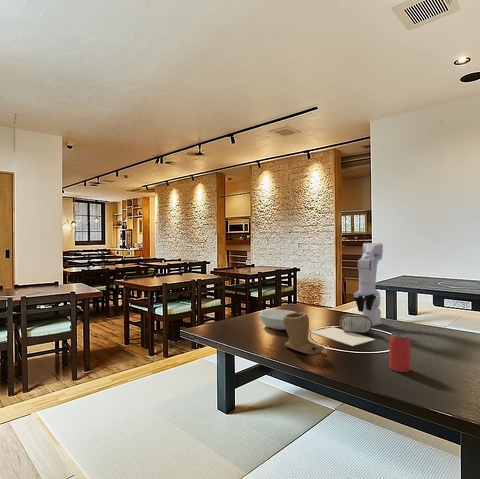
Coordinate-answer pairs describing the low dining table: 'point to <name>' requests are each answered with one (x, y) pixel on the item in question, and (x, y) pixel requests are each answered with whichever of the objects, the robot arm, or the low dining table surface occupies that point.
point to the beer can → (399, 352)
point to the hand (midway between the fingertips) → (364, 310)
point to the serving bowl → (274, 318)
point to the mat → (342, 336)
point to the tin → (355, 323)
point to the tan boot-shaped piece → (299, 333)
